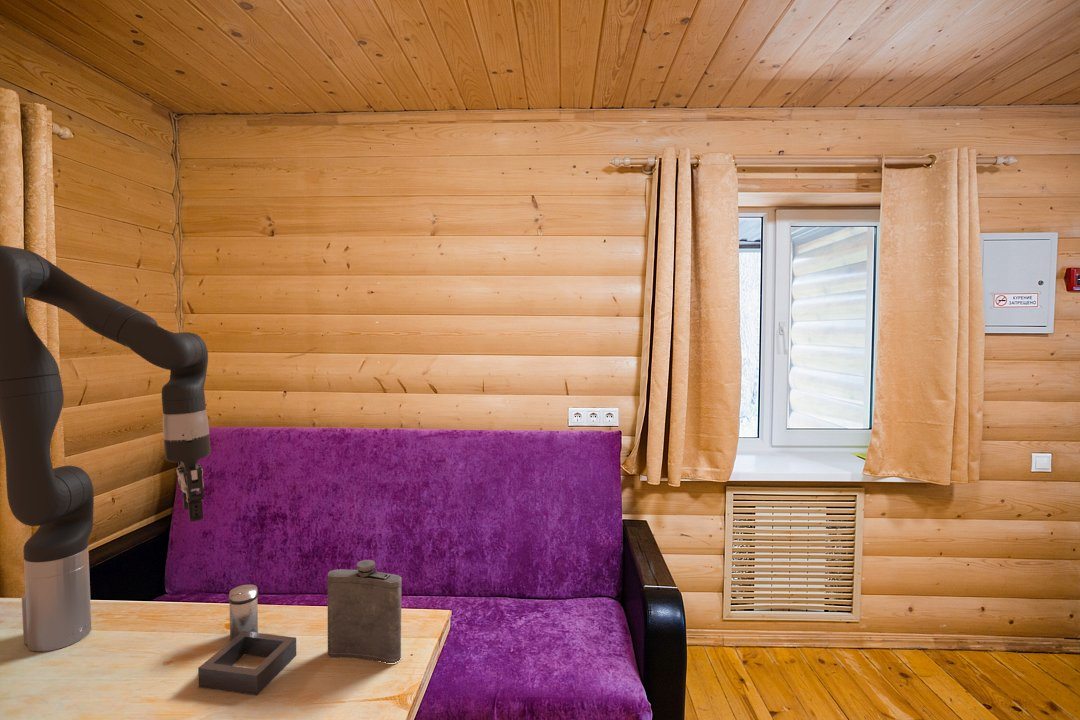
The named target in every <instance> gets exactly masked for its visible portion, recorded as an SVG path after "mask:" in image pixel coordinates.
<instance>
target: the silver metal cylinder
mask: <svg viewBox="0 0 1080 720" xmlns="http://www.w3.org/2000/svg"><path fill="white" fill-rule="evenodd" d="M228 595H229V596H228V603H229V642H230V641H232V640H233V639H234V638H235V637H236V636H238V635H239V634H240V633H241V632H243V631H246V632H255V633H259V631H258V630H259V628H258V627H259V626H258V625H259V624H258V623H259V621H258V620H259V619H258V616H259V615H258V597H259V590H258V586H257V585H255V584H242V585H239V586H236V587H234V588H232V589H231V590H230V591H229V594H228Z"/></svg>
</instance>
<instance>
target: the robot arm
mask: <svg viewBox="0 0 1080 720" xmlns="http://www.w3.org/2000/svg"><path fill="white" fill-rule="evenodd" d="M25 298H28V299H31V300H35V301H39V302H42V303H46V304H48V305H50V306H51V305H52V306H53V307H56V308H58V309H60V310H63V311H65V312H67V313H69V314H70V315H72V316H73V317H74V318H75V319H77V321H79V323H81V324H82V325H83V326H85V327H87V328H88V329H90V331H93V332H95V333H97V334H98V335H101V336H102V337H105V338H106V339H109V340H111V341H113V342H115V343H117V344H120V345H121V346H124V347H126V348H128V349H130V350H131V351H132V352H133V353H135V354H137V355H138V356H140V357H141V358H142V359H144V360H145V361H147V362H148V363H150V364H152V365H154V366H155V367H158V368H161V369H164V370H169V371H170V374H169V380H168V381H167V382H166V383H165V384H164V385H163V386H162V388H161V405H162V406H161V407H162V433H163V434H162V436H163V446H164V458H165V460H166V461H167V462H168V463H169V462H170V463H177V464H178V467H176V474H177V481H178V485H179V486H180V487H179V488H180V490H181V492H182V501H183V503H182V504H183V508H184V509H185V510H188V519H189V521H190V522H197V521H202V520H203V518H204V511H203V510H204V508H203V500H205V494H204V487H205V486H204V485H205V484H204V478H203V477H204V476H203V474H204V469H203V466H201V463H199V462H198V461H199V460H200V459H205V458H207V457H208V456H210V455H211V452H212V450H211V438H210V437H211V436H210V428H209V426H210V425H209V418H208V414H207V408H206V396H205V394H206V393H205V383H206V378H207V373H208V364H209V353H208V347H207V345H206V343H205V340H204V339H203V338H202V337H201V336H200V335H198V334H197V333H194V332H191V331H189V332H187V331H186V332H184V331H183V332H172V331H170V330H167V329H165V328H163V327H161V326H159V325H158V323H157V321H156V320H155V319H154V318H153V317H152V316H150V315H148V314H147V313H144V312H142V311H140V310H138V309H136V308H134V307H132V306H129V305H128V304H125V303H123V302H121V301H119V300H117V299H114V298H113V297H110V296H109V295H106V294H104V293H101V292H99V291H97V290H96V289H94V288H92V287H91V286H88V285H86V284H85V283H83V282H81V281H80V280H78V279H76V278H75V277H73V276H72V275H70V274H69V273H67V272H65V271H64V270H63V269H61V268H59V267H58V266H56V265H55V264H54V263H52V262H51V261H50V260H47V258H45V257H43V256H42V255H40V254H38V253H37V252H34V251H32V250H28V249H25V248H20V247H14V246H13V247H12V246H7V245H2V244H0V429H1V436H2V442H3V443H2V444H3V449H4V458H5V459H4V460H5V462H4V463H5V479H6V483H5V484H6V496H7V502H8V505H9V509H10V511H11V514H12V515H13V516H14V517H15V519H16V520H18V521H19V522H20V523H21V524H24V525H25V526H29V527H38V528H37V529H36V531H35V532H34V533H33V534H32V535H31V536H30V537H29V538H28V540H26V542H25V543H24V545H23V570H24V585H25V586H24V589H25V593H24V594H23V595H22V596H21V608H22V609H21V615H22V628H23V629H22V632H23V633H22V634H23V635H22V636H23V644H24V645H27V648H28V649H29V651H32V652H49V651H54V650H58V649H62V648H65V647H68V646H71V645H73V644H75V643H77V642H79V641H81V640H82V639H84V638H85V637H87V636H88V635H89V634H90V633H91V630H92V610H91V609H92V604H91V585H90V584H91V581H90V579H91V578H90V559H89V558H90V556H89V555H90V554H89V538H90V536H91V534H92V532H93V531H92V530H93V528H94V527H93V526H94V508H95V507H94V504H95V503H94V502H95V501H94V500H95V496H94V495H95V491H94V485H93V482H92V479H91V477H90V476H89V474H88V473H87V472H86V471H85V470H84V469H82V468H80V467H78V466H76V465H61V466H58V467H55V468H53V464H52V456H51V444H52V439H53V435H54V431H55V429H56V426H57V424H58V422H59V420H60V416H61V413H62V409H63V406H64V389H63V383H62V379H61V374H60V372H61V371H60V368H59V365H58V363H57V361H56V359H55V358H54V356H53V354H52V352H51V351H50V350H49V349H48V348H47V346H46V345H45V343H44V342H43V341H42V339H41V338H40V337H39V336H38V334H37V333H36V332H35V330H34V328H33V326H32V325H31V322H30V320H29V317H28V313H27V308H26V302H25ZM89 632H90V633H89Z"/></svg>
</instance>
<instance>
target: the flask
mask: <svg viewBox="0 0 1080 720" xmlns="http://www.w3.org/2000/svg"><path fill="white" fill-rule="evenodd" d="M375 567H376V561H374V560H372V559H362V560H361V561H357V563H356V569H333V570H330V571H329V572H327V657H329V658H338V659H339V658H341V659H343V658H344V659H358V660H364V661H365V660H367V661H372V660H373V661H372V662H377V661H381V662H386V663H395V662H397V661H399V660H400V658H401V659H402V584H403V583H402V576H400V575H397V574H393V573H387V572H382V571H377V570H375ZM400 661H401V660H400ZM381 662H380V663H381Z"/></svg>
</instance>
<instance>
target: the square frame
mask: <svg viewBox="0 0 1080 720" xmlns="http://www.w3.org/2000/svg"><path fill="white" fill-rule="evenodd" d="M245 655H247V656H248V655H249V656H256V657H264V658H265V659H264V660H263V661H262V662H260V663H259V665H258V666H257V667H255V668H250V667H243V666H242V667H241V666H234V665H235V664H236V663H237V662H238V661H239V660H241V659H242V658H243V657H244V656H245ZM296 657H297V637H295V636H286V635H278V634H269V633H260V632H258V633H255V632H246V631H243V632H241V633H240V634H239V635H238V636H236V637H235V638H234V639H233V640H232V641H230V640H229V642H228V643H226V644H225V645H224V646H223V647H222V648H221V649H219V650H218V651H217V652H215V654H214V655H212V656H211V657H210V658H208V659H207V660H206V661H205V662H203V663H202V664H201V665H199V666H198V667H197V669H198V670H197V671H198V672H197V673H198V675H197V676H198V677H197V678H198V688H201V689H208V690H215V691H222V692H230V693H236V694H243V695H249V696H258V695H259V694H261V693H262V692H263V690H264V689H265V688H267V686H268V685H269V684H270V683H271V682H272V681H273V680H274V679H275V678H276V677H277V676H278V675H279V674H280V673H281V672H282V671H283V670H284V669H285V668H286V667H287V665H288V664H290V662H292V661H293V660H294V658H296Z"/></svg>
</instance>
